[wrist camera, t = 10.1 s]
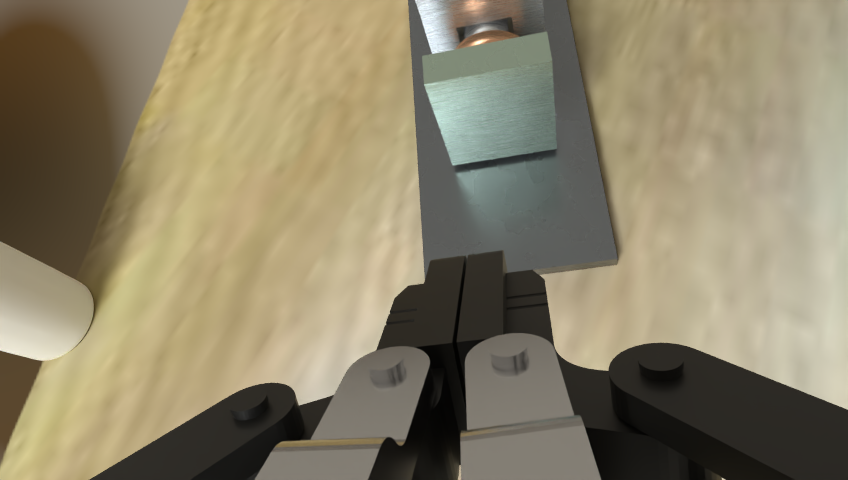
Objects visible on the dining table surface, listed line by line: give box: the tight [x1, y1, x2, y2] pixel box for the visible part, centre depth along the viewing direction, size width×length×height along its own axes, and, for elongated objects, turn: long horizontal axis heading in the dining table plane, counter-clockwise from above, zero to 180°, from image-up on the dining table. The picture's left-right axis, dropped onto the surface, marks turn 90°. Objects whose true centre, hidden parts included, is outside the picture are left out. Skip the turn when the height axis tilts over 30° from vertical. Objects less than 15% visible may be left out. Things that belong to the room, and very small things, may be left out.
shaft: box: [422, 18, 557, 166], centre depth 41 cm, size 15×7×9 cm, turn 3°
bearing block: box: [408, 0, 618, 278], centre depth 41 cm, size 25×12×10 cm, turn 3°
